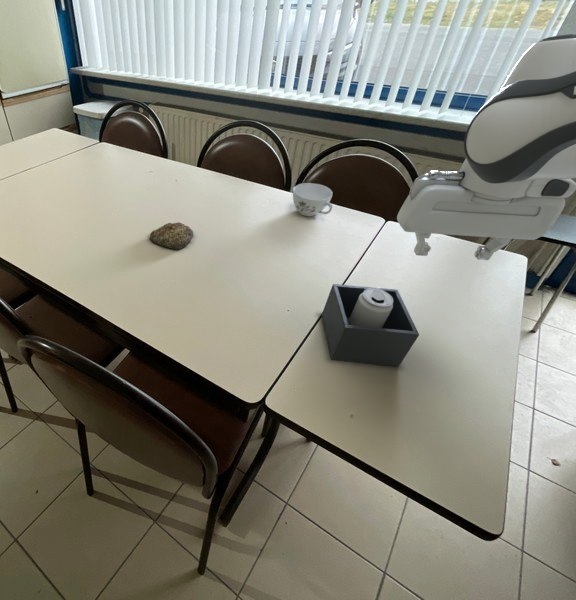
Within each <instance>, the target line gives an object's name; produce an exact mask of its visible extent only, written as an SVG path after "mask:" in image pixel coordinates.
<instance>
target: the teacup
mask: <svg viewBox="0 0 576 600" xmlns="http://www.w3.org/2000/svg"><path fill="white" fill-rule="evenodd" d="M332 197H333V190H332V189H331V188H330V187H328V186H326V185H323V184H321V183H315V182H313V183H312V182H302V183H299V184H297V185H295V186H293V189H292V200H293V204H294V205H293V206H294V207H295V209H296V210H297V211H298V213H299V214H300V215H302V216H306V217H313V216H316V215H317V214H320V215H328V214H330V213H331V212H332V210H333V204H332V203H331V202H330V201H331V200H332ZM327 206H328V209H329V210H327V211H323V210H324V209H326V208H327Z"/></svg>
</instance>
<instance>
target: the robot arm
mask: <svg viewBox="0 0 576 600" xmlns="http://www.w3.org/2000/svg"><path fill="white" fill-rule="evenodd" d="M463 151H464V155H465V159H464V160H463V163H462V165H461V167H460V169H459V170H458V171H439V170H430V171H428V172H427V173H424V174H421V175H419V176H418V177H417V178H415V179H414V181H413V183H412V185H411V188H410V189H409V194H407V197H406V198H405V200H404V202H403V204H402V205H401V207H400V208H399V211H398V213H397V216H396V220H397V223H398V225H399V226H400V227H401V229H402V230H403V232H406V233H414V234H415V238H416V239H415V240H416V244H415V247H414V249H413V253H414V254H415V255H416V256H420V257H427V256H428V255H429V253H430V251H431V249H432V247H431V245H429V242H427V241H426V239H429V238H430V237H431V235H432V234H433V235H446V236H447V235H450V236H463V237H464V236H465V237H478V238H479V237H481V238H493V239H492V240H490V241H489V242H487V243H486V244H484V245H478V247H477V248H476V250H475V252H474V253H473V255H474V257H475V258H476V260H481V261H489V260H490V259H491V258H492V257H493V255H494V253H496V252H498V251H499V250H501V249H503V248H505V247H506V246H507V245H509V244H510V242H511V241H512V240H529V241H535V240H537V239H539V238H541V237H543V236H545V235H547V233H548V232H549V231H550V229H551V228H552V227H553V226H554V224H555V223H556V221H557V220H558V218H559V217H560V215H561V213H562V212H563V210H564V208H565V206H566V199H565V198H569V197H570V196H572V195H573V194H574V192H575V191H576V181H574V180H573V179H576V33H575V34H574V33H567V34H560V35H554V36H549V37H545V38H542V39H540V40H538V41H536V42H535V43H533V44H532V45H530V46H529V48H527V49H526V51H525V52H524V53H523V54H522V56H521V57H520V58H519V59H518V61H517V62H516V64H515V65H514V67H513V68H512V70H510V73H509V74H508V75H507V78H506V80H505V81H504V83H503V85H502V86H501V88H500V90H499V91H498V92H497V93H496V94H494V95H493V96H491V98H489V100H488V101H486V103H484V104H483V106H482V107H481V108H480V109H479V110H478V111H477V113H476V114H475V115H474V116H473V118H472V120H471V121H470V123H469V124H468V126H467V129H466V132H465V134H464V139H463Z"/></svg>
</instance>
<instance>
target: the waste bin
mask: <svg viewBox="0 0 576 600" xmlns="http://www.w3.org/2000/svg"><path fill="white" fill-rule="evenodd" d="M369 288H375V287H372V286H361V285H350V284H339V283H333V284H332V286H331V288H330V291H329V293H328V296H327V299H326V302H325V305H324V307H323V310H322V313H321V315H320V317H321V321H322V325H323V330H324V334H325V338H326V343H327V347H328V352H329V356H330V360H332V361H340V362H349V363H359V364H367V365H377V366H385V367H394V368H395V367H396V368H399V367H400V365H401V364H402V363H403V361H404V359H405V358H406V356H407V355H408V353H409V351H410V350H411V348H412V347H413V346H414V344H415V343H416V341H417V339H418V338H419V336H420V332H419V330H418V329H417V327H416V325H415V322H414V321H413V319H412V317H411V314H410V312H409V310H408V309H407V306H406V304H405V302H404V300H403V298H402V296H401V294H400V292H399V290H398V289H396V288H383V287H376V288H377V289H381V290H383V291H385V292H387V293H388V294H390V295H391V296H392V298H393V308H392V310H391V312H390V314H389V316H388V317H387V319H386V321H385V323H384V325H383V327H382V328H373V327H363V326H353V325H348V321H349V318H350V316H351V314H352V312H353V309H354V307H355V305H356V303H357V300H358V298H359V296H360V294H362V293H363V292H364V290H366V289H369Z"/></svg>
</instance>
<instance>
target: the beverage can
mask: <svg viewBox="0 0 576 600" xmlns="http://www.w3.org/2000/svg"><path fill="white" fill-rule="evenodd" d="M377 288H378V287H374V288H369V289H366V290H364V292H363V293H362V294H360V296H359V298H358V300H357V303H356V305H355V307H354V309H353V312H352V314H351V316H350V318H349V321H348V325H353V326H363V327H373V328H382V327H383V325H384V323H385V321H386V319H387V317H388V316H389V314H390V312H391V310H392V308H393V298H392V296H391V295H390V294H388V293H387V292H385V291H383V290H381V289H377Z"/></svg>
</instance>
